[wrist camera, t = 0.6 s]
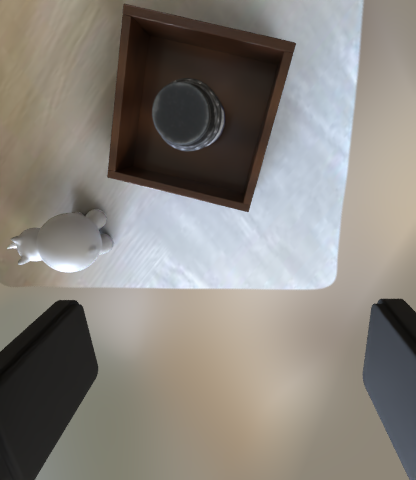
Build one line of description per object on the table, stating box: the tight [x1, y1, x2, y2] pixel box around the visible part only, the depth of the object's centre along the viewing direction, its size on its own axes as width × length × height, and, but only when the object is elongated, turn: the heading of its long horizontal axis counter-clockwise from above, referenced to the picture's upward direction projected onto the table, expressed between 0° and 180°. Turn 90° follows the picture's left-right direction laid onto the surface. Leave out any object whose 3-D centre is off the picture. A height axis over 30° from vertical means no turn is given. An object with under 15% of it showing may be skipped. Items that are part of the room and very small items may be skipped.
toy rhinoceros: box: [7, 209, 113, 272], centre depth 37 cm, size 7×12×8 cm, turn 94°
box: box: [107, 4, 296, 212], centre depth 31 cm, size 16×16×6 cm
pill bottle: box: [152, 78, 225, 152], centre depth 28 cm, size 6×6×11 cm
